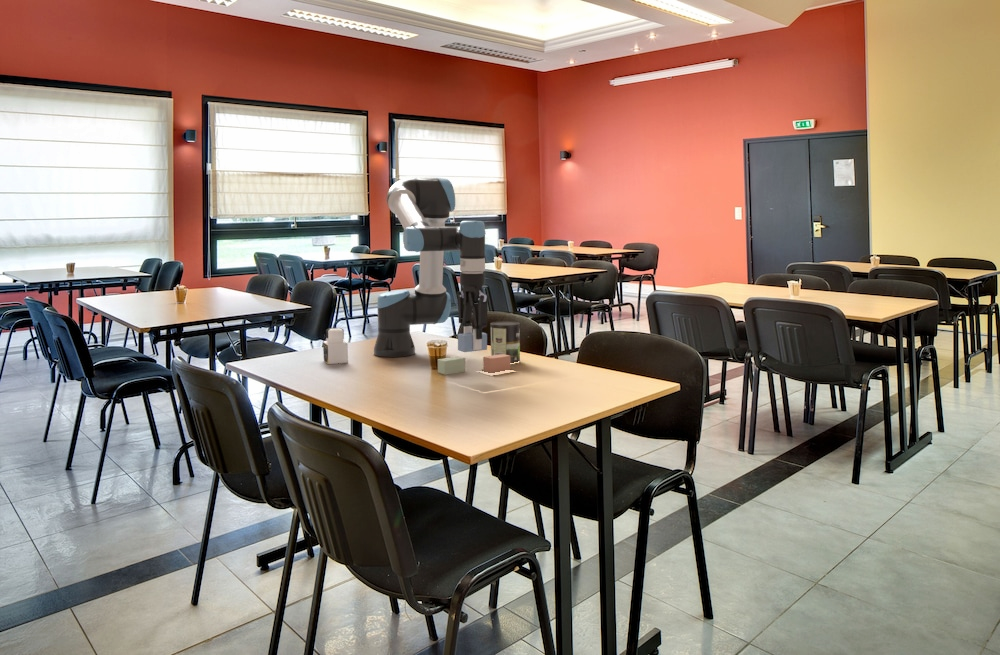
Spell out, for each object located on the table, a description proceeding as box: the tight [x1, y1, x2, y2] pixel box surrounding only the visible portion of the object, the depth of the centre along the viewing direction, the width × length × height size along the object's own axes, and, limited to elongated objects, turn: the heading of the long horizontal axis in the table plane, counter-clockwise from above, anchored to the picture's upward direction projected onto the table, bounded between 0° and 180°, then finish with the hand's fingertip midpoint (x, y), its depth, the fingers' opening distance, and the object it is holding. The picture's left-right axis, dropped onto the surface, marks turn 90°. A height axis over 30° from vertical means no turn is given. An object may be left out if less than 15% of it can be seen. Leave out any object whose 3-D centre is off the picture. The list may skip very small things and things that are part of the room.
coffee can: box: [489, 320, 521, 363], centre depth 253 cm, size 10×10×14 cm
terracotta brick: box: [482, 354, 511, 373], centre depth 238 cm, size 8×4×5 cm, turn 127°
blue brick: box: [457, 331, 488, 353], centre depth 225 cm, size 8×4×5 cm, turn 122°
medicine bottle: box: [322, 327, 349, 365], centre depth 257 cm, size 7×7×12 cm
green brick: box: [437, 356, 466, 375], centre depth 238 cm, size 8×4×5 cm, turn 127°
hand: (472, 348), depth 226 cm, fingers closed on blue brick, 4 cm apart
